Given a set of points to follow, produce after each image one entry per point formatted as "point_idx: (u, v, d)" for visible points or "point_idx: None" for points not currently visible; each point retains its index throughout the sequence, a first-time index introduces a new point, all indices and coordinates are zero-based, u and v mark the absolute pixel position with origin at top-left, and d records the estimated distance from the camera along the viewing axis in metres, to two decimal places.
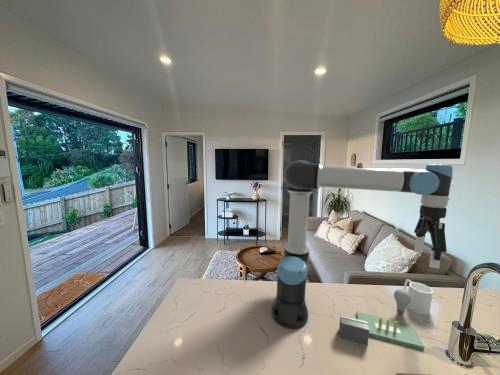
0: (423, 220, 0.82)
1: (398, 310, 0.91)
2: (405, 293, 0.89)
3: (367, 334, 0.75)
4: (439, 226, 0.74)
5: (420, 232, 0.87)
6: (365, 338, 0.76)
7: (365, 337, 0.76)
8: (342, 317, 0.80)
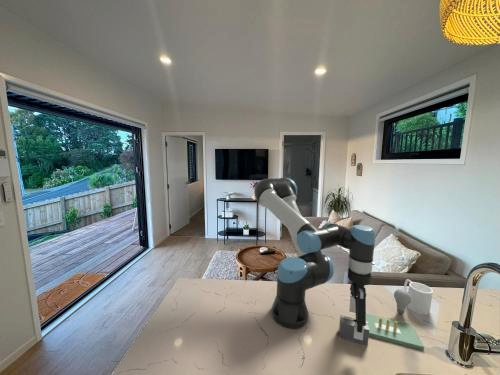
0: (352, 283, 0.78)
1: (398, 310, 0.91)
2: (405, 293, 0.89)
3: (367, 334, 0.75)
4: (360, 296, 0.70)
5: (353, 292, 0.82)
6: (365, 338, 0.76)
7: (365, 337, 0.76)
8: (342, 317, 0.80)
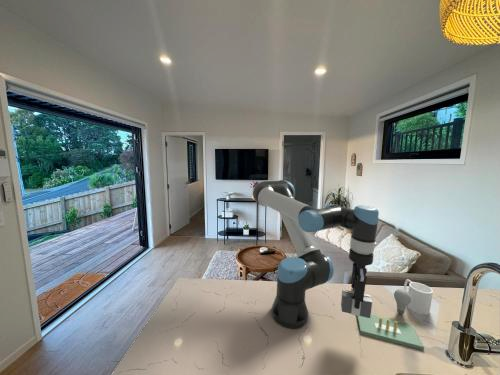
0: (353, 263, 0.77)
1: (398, 310, 0.91)
2: (405, 293, 0.89)
3: (370, 307, 0.74)
4: (361, 280, 0.70)
5: (354, 282, 0.79)
6: (368, 311, 0.75)
7: (368, 310, 0.74)
8: (344, 291, 0.79)
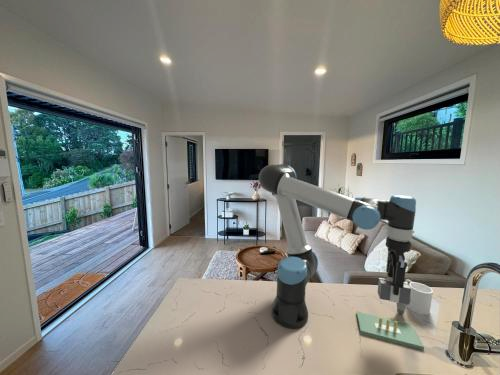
0: (389, 252, 0.80)
1: (398, 310, 0.91)
2: None
3: (408, 293, 0.76)
4: (401, 266, 0.72)
5: (390, 270, 0.81)
6: (406, 297, 0.77)
7: (406, 296, 0.77)
8: (381, 279, 0.81)
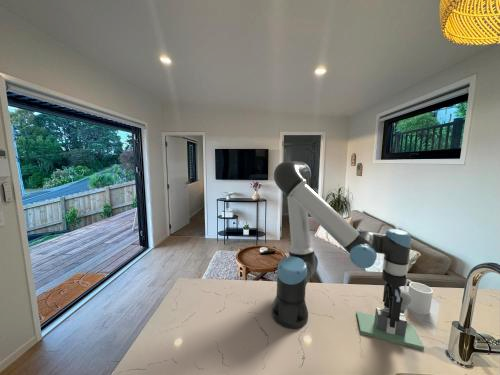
0: (386, 284, 0.82)
1: None
2: (405, 293, 0.89)
3: (405, 325, 0.78)
4: (397, 300, 0.74)
5: (387, 301, 0.83)
6: (402, 329, 0.79)
7: (402, 328, 0.79)
8: (378, 309, 0.83)
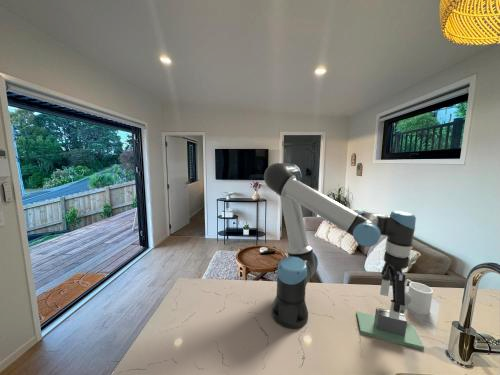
0: (387, 266, 0.81)
1: None
2: (405, 293, 0.89)
3: (405, 325, 0.78)
4: (399, 278, 0.73)
5: (385, 276, 0.85)
6: (402, 329, 0.79)
7: (402, 328, 0.79)
8: (378, 309, 0.83)
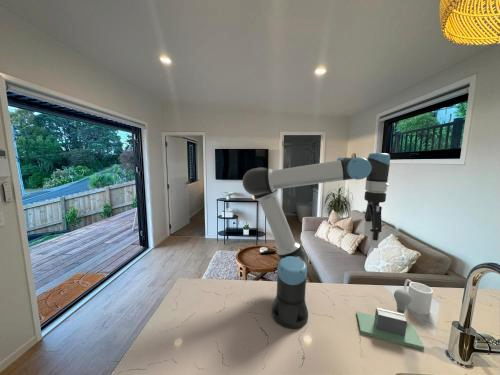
0: (368, 205, 0.89)
1: (398, 310, 0.91)
2: (405, 293, 0.89)
3: (405, 325, 0.78)
4: (377, 209, 0.81)
5: (368, 217, 0.94)
6: (402, 329, 0.79)
7: (402, 328, 0.79)
8: (378, 309, 0.83)
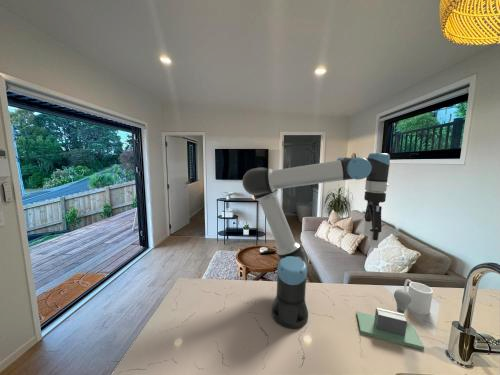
0: (367, 205, 0.89)
1: (398, 310, 0.91)
2: (405, 293, 0.89)
3: (405, 325, 0.78)
4: (376, 209, 0.81)
5: (367, 217, 0.94)
6: (402, 329, 0.79)
7: (402, 328, 0.79)
8: (378, 309, 0.83)
